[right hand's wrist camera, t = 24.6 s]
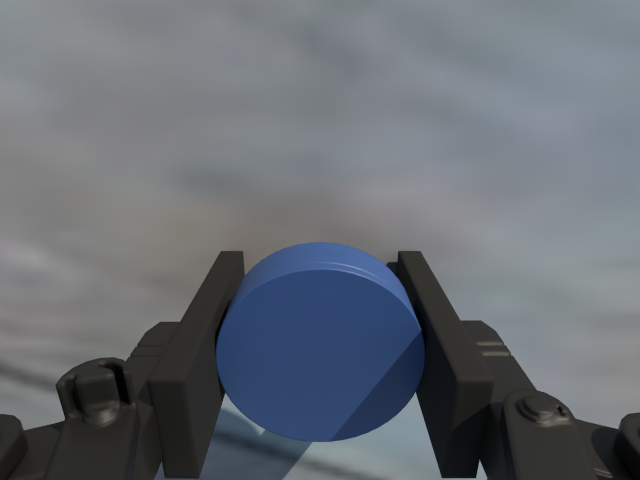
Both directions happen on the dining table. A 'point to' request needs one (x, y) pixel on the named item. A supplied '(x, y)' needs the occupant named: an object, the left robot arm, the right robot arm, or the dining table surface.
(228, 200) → the dining table surface
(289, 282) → the lid
